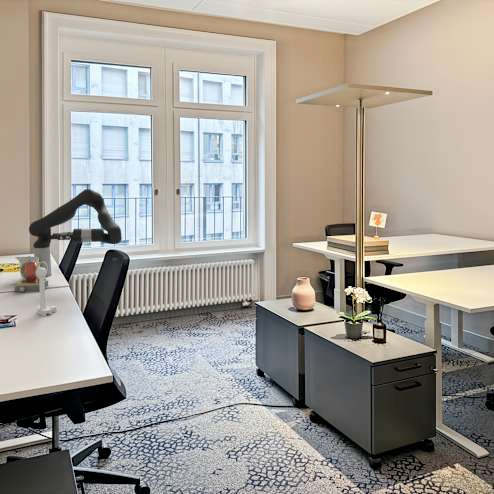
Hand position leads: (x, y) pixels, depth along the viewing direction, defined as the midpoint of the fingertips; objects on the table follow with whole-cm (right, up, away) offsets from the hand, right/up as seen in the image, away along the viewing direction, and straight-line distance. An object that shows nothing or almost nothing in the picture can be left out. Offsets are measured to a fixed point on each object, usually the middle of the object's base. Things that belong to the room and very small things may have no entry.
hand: (51, 236), depth 271 cm
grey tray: (-10, -28, 0) cm, 30 cm away
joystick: (+17, -34, -48) cm, 62 cm away
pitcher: (-20, -25, +25) cm, 41 cm away
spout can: (-11, -25, +1) cm, 27 cm away
